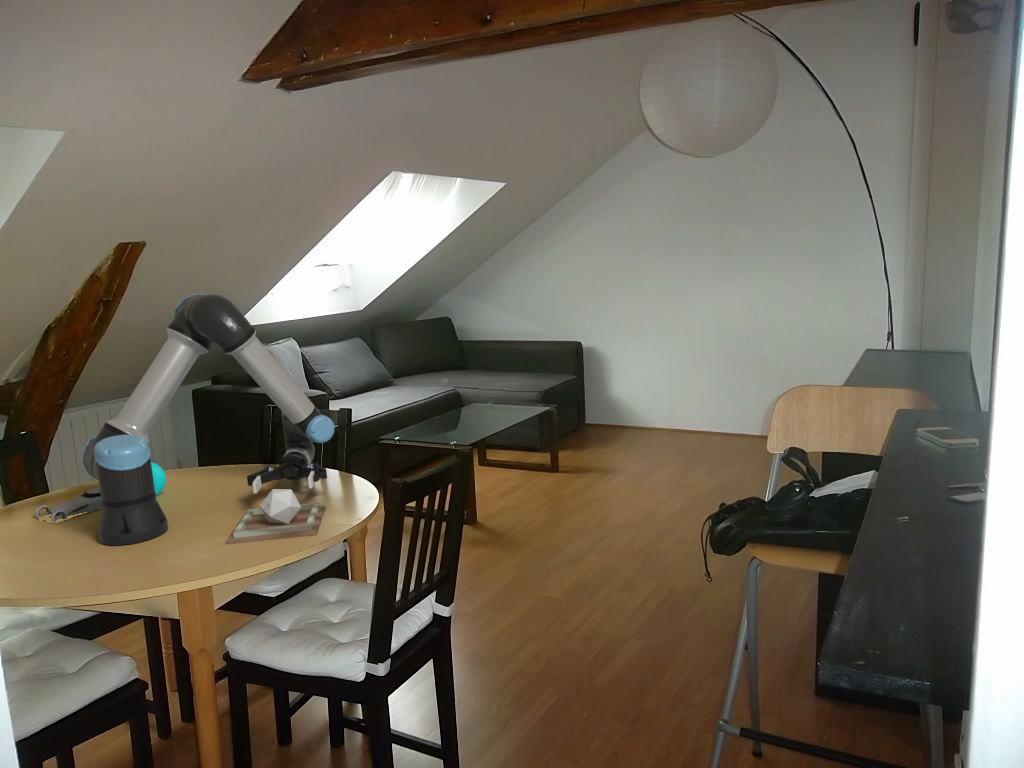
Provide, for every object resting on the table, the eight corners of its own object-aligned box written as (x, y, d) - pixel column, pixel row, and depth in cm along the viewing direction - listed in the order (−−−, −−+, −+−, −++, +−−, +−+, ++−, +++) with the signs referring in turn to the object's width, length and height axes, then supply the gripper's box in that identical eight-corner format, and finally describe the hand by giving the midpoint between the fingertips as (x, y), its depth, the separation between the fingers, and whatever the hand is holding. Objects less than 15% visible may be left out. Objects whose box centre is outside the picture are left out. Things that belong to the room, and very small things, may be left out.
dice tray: (245, 515, 202) (244, 508, 201) (325, 507, 204) (325, 500, 204) (227, 543, 182) (226, 535, 182) (316, 534, 184) (315, 526, 184)
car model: (31, 520, 210) (28, 502, 210) (121, 494, 230) (118, 477, 229) (52, 527, 204) (49, 508, 203) (142, 499, 223) (140, 482, 223)
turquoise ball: (117, 507, 216) (112, 471, 215) (135, 495, 226) (130, 461, 224) (154, 505, 216) (149, 469, 214) (170, 493, 226) (165, 459, 224)
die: (265, 520, 196) (248, 498, 189) (293, 497, 200) (278, 474, 193) (282, 538, 191) (265, 516, 185) (311, 514, 195) (295, 491, 188)
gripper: (341, 472, 224) (334, 495, 203) (250, 481, 221) (233, 504, 200) (339, 446, 223) (331, 466, 202) (247, 454, 220) (229, 475, 199)
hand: (282, 485), depth 201 cm, fingers open, 13 cm apart
